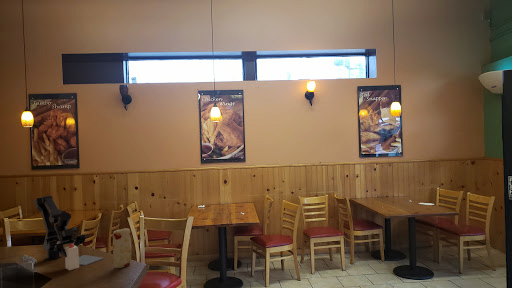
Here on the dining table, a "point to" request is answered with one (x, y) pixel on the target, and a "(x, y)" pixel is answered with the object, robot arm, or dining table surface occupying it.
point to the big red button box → (72, 257)
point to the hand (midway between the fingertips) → (71, 255)
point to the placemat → (88, 259)
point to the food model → (122, 248)
